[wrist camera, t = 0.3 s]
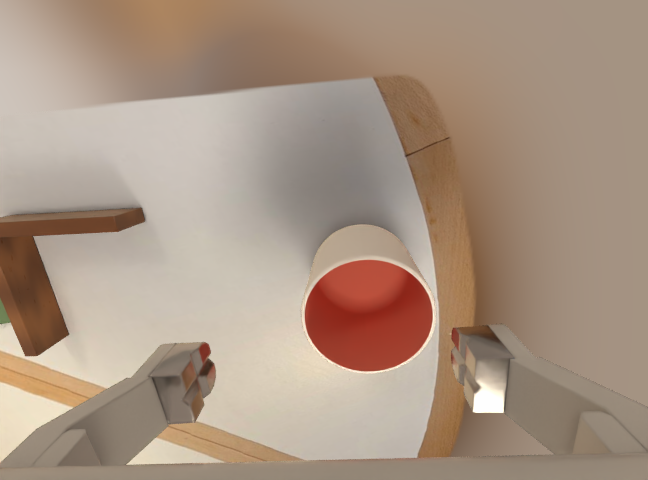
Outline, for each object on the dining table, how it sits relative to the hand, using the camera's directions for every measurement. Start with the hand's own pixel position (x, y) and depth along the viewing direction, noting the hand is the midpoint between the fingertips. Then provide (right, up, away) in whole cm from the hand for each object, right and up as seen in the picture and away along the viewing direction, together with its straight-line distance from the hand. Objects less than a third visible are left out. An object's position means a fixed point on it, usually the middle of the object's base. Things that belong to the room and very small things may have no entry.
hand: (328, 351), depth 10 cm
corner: (-26, -1, +24) cm, 36 cm away
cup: (+4, +1, +22) cm, 22 cm away
